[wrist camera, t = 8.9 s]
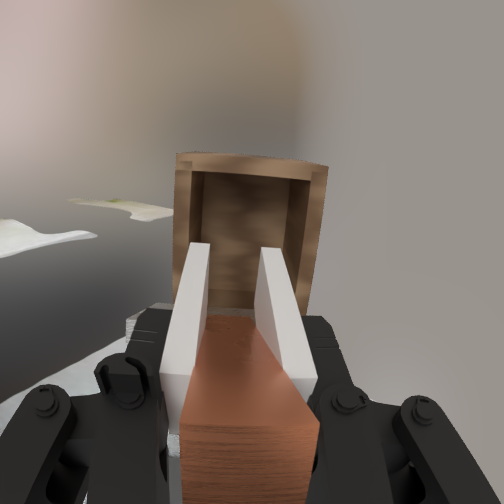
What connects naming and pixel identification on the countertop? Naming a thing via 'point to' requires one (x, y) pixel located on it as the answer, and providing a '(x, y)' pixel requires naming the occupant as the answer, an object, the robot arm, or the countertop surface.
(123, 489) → the robot arm
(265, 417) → the turner
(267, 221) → the shelf stand
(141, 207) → the countertop surface
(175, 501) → the mat
